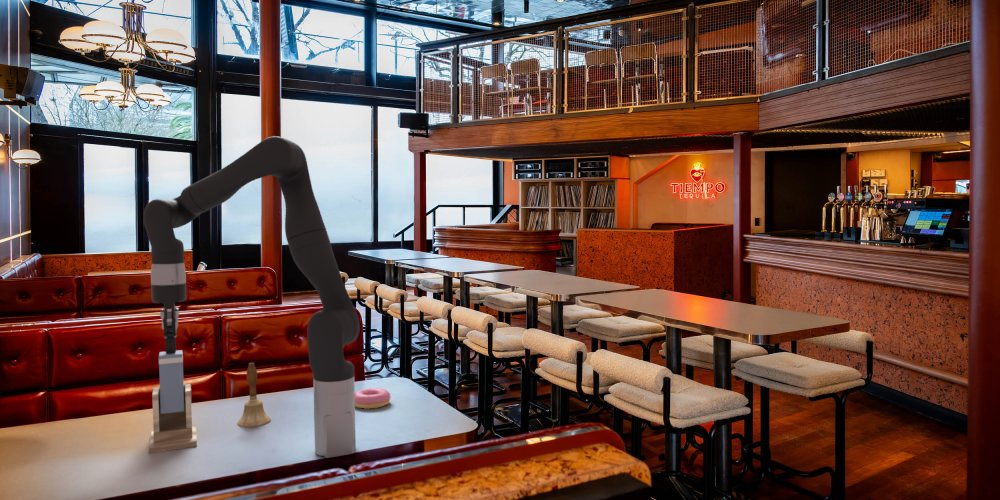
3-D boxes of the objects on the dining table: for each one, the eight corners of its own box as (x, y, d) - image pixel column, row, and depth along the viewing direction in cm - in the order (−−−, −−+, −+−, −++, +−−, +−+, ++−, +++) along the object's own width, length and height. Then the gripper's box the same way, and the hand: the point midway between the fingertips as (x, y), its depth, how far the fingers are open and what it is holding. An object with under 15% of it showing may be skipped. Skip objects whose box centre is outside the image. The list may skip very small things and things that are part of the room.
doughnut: (364, 413, 178) (364, 398, 177) (345, 404, 186) (345, 390, 186) (398, 405, 185) (397, 391, 185) (377, 397, 193) (377, 383, 193)
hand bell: (248, 429, 164) (246, 368, 163) (231, 423, 169) (229, 363, 168) (277, 421, 171) (275, 362, 170) (259, 415, 176) (257, 358, 175)
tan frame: (196, 445, 152) (195, 393, 152) (149, 453, 148) (147, 399, 147) (195, 428, 165) (194, 380, 164) (151, 434, 160) (150, 385, 160)
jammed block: (184, 411, 155) (182, 353, 154) (160, 414, 152) (158, 356, 152) (184, 405, 159) (182, 350, 159) (161, 408, 157) (159, 352, 156)
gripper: (186, 283, 150) (188, 356, 151) (186, 279, 162) (188, 346, 163) (149, 285, 147) (152, 360, 148) (152, 280, 159) (154, 349, 159)
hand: (170, 352), depth 155 cm, fingers closed
